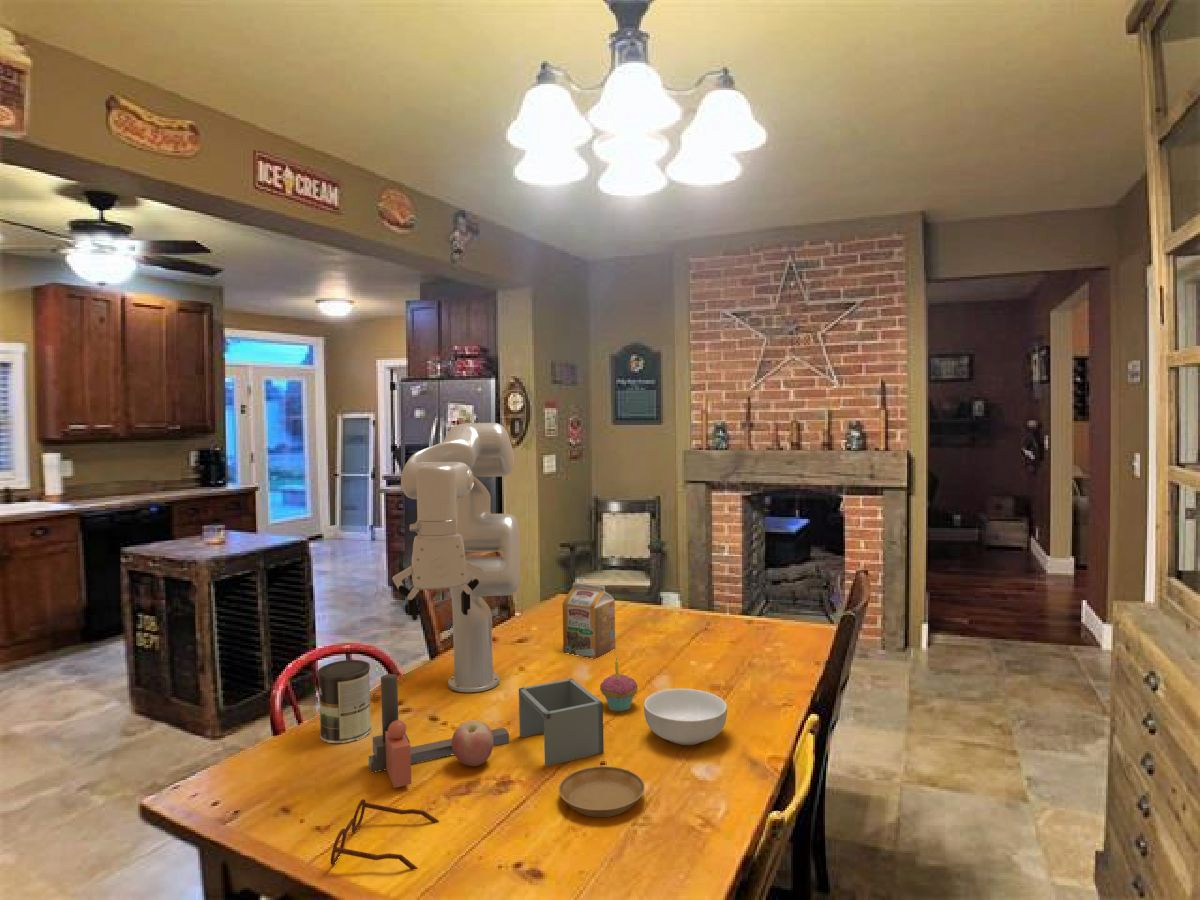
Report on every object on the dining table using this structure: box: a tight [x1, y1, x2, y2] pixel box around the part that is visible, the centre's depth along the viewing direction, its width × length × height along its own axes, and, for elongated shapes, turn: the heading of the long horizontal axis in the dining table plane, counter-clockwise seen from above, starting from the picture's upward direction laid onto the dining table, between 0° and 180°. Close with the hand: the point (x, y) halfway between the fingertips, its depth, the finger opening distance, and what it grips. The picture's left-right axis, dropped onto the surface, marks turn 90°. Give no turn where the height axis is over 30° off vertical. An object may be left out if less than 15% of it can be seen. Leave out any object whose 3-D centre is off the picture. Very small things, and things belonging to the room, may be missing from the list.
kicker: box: [372, 673, 412, 788], centre depth 135 cm, size 14×6×16 cm, turn 26°
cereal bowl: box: [643, 688, 728, 746], centre depth 149 cm, size 17×17×7 cm
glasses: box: [330, 798, 440, 871], centre depth 113 cm, size 13×13×5 cm
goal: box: [518, 677, 605, 767], centre depth 146 cm, size 15×12×10 cm
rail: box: [368, 727, 510, 773], centre depth 143 cm, size 3×27×2 cm, turn 116°
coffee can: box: [317, 659, 372, 744], centre depth 153 cm, size 10×10×14 cm
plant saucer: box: [558, 765, 646, 818], centre depth 125 cm, size 15×15×3 cm
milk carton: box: [562, 582, 616, 660], centre depth 204 cm, size 11×11×19 cm
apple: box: [451, 720, 494, 767], centre depth 139 cm, size 8×8×8 cm
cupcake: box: [599, 657, 638, 712], centre depth 164 cm, size 9×8×12 cm
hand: (439, 616), depth 142 cm, fingers open, 9 cm apart
